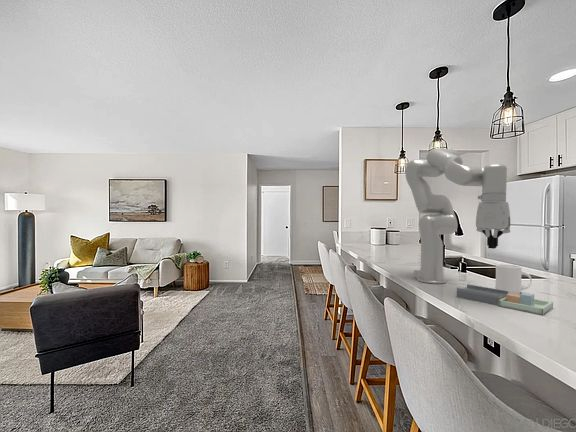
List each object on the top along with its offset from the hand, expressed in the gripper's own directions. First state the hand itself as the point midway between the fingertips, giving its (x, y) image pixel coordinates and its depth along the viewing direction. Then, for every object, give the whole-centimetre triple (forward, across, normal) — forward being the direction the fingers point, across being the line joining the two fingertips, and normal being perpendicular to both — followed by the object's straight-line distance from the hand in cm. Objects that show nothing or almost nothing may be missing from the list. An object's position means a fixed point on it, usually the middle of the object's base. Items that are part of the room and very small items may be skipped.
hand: (492, 248), depth 116 cm
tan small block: (+19, +8, -1) cm, 20 cm away
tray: (+19, +11, -1) cm, 22 cm away
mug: (+20, +1, +20) cm, 28 cm away
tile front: (+17, +10, -1) cm, 19 cm away
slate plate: (+19, -3, -1) cm, 20 cm away
